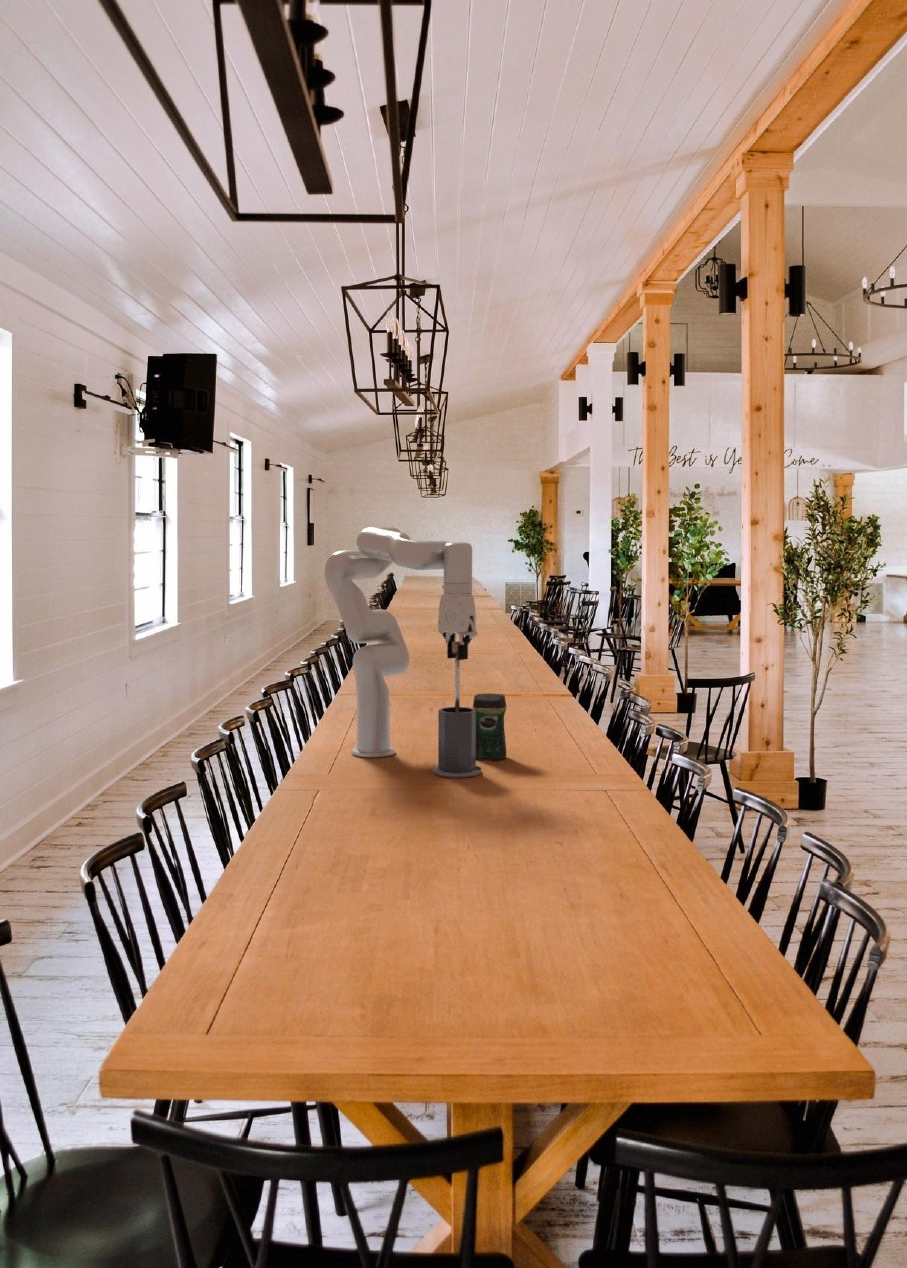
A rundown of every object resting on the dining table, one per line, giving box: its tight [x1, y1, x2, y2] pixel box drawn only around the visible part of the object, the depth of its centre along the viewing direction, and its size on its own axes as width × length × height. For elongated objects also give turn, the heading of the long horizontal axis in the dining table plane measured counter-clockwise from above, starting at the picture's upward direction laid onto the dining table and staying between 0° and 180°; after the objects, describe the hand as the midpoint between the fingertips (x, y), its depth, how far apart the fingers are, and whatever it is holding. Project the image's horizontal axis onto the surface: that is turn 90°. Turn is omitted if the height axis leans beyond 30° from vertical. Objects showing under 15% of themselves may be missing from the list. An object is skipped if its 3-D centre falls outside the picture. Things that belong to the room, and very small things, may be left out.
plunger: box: [452, 641, 461, 713], centre depth 276 cm, size 7×7×22 cm
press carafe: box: [432, 706, 482, 779], centre depth 278 cm, size 14×13×17 cm
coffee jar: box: [472, 692, 507, 761], centre depth 295 cm, size 10×8×19 cm
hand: (457, 658), depth 275 cm, fingers closed on plunger, 3 cm apart
